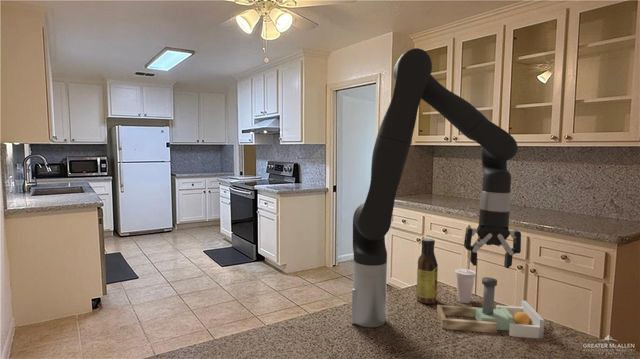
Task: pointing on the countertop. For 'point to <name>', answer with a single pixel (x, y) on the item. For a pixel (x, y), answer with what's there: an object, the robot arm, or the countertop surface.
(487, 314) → the striker
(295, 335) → the countertop surface
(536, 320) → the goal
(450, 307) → the wooden rectangular frame
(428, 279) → the sauce bottle
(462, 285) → the smoothie
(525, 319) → the ball
